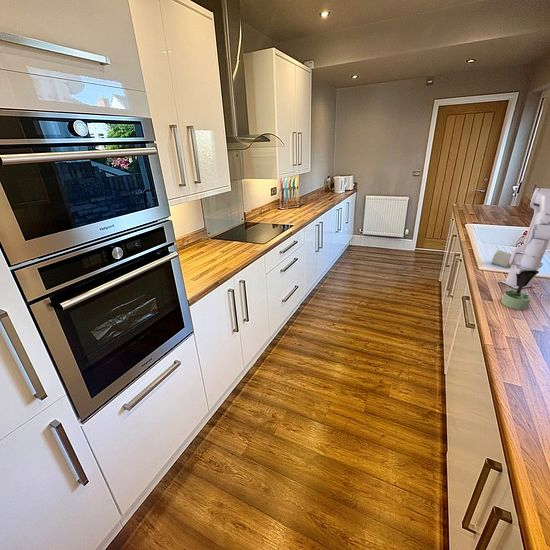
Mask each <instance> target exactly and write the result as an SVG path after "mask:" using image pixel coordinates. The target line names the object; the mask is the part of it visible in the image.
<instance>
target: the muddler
mask: <svg viewBox="0 0 550 550" xmlns="http://www.w3.org/2000/svg"><path fill="white" fill-rule="evenodd" d="M522 290H523V288H521V287H518V289H516V291H517V292H515V293H514V295H515V296H518V297H520V296H521V294H520V292H522Z"/></svg>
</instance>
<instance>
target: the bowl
mask: <svg viewBox="0 0 550 550" xmlns="http://www.w3.org/2000/svg"><path fill="white" fill-rule="evenodd" d="M515 292H517V289H507V290H504V292H503V294H502V296H501V299H500V302H501V304H502V305H504V306H505V307H507V308H510V309H513V310H519V311H524V310H527V309H528V308H529V304H530V302H531V300H532V297H531V296H530V295H529V294H528V293H525V292H523V291H521V292H520V294H521V296H520V297H518V296H515V295H514V293H515Z"/></svg>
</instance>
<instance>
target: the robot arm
mask: <svg viewBox="0 0 550 550" xmlns="http://www.w3.org/2000/svg"><path fill="white" fill-rule="evenodd" d="M529 208H532V210H533V216H532V219H531V222H530V224H529V227H528V230H527V233H526V236H525V238H524V240H523V244H522V245H521V246H517V247H515V248H514V249H513V251H512V253H511V254H512V255H511V257H510V260H509V264H510V265H511V266H510V267H509V271H508V274H507V277H506V279H503V280H500V282H501V283H503V284H505V285H507V286H509V287H511V288H513V289H514V290H518V287H521V288H522V289H524V288H530V287H533V285H532V281H533V279H534V277H535V276H536V275H538V274H539V272H540V271H539V270H540V269H541V268H542V267H543V264H544V263H543V262H542V260H543V257H544V255H545V254H546V250H547V248H548V245H549V243H550V188H543V187H542V188H541V187H537V188H535V189H534V192H533V193H532V196H531V200H530V203H529Z"/></svg>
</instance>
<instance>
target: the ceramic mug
mask: <svg viewBox="0 0 550 550" xmlns="http://www.w3.org/2000/svg"><path fill="white" fill-rule="evenodd" d="M511 255H512V253H510V252H506V251H503V250H500V249H499V250H497V251H496V252H494V254H493V256H492V258H491V264H493V265H496V266H501V267H504V268H511V265H510V264H509V260H510V257H511Z"/></svg>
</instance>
